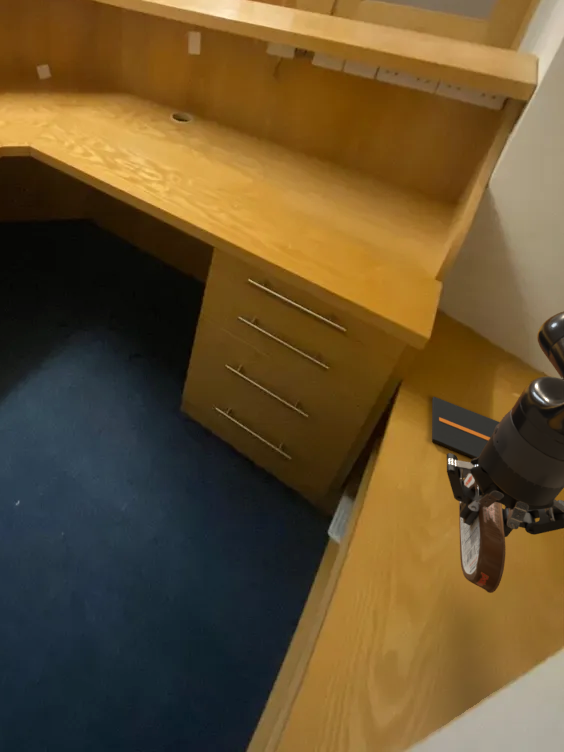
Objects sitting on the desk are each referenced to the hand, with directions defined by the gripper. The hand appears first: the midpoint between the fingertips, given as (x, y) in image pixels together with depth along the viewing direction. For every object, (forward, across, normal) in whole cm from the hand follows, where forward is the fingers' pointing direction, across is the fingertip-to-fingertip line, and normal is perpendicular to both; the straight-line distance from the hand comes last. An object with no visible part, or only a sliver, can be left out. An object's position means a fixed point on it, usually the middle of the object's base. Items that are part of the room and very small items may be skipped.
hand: (480, 523), depth 69 cm
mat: (+18, +6, +29) cm, 35 cm away
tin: (+4, 0, 0) cm, 4 cm away
